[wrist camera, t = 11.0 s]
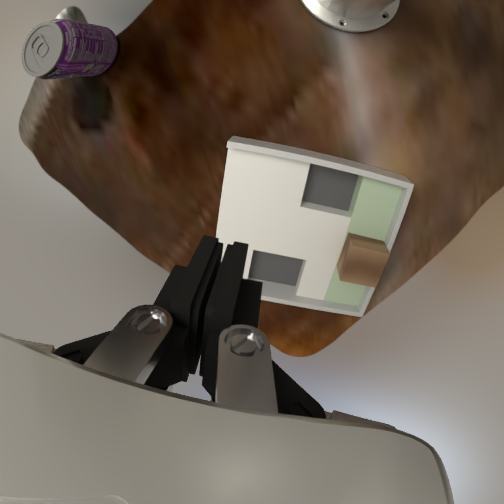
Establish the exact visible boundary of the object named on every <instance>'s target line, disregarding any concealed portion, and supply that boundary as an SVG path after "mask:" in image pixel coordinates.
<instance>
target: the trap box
mask: <svg viewBox="0 0 504 504" xmlns="http://www.w3.org/2000/svg"><path fill="white" fill-rule="evenodd" d="M227 147H228V154H227V160H226V167H225V174H224V181H223V188H222V195H221V202H220V210H219V217H218V225H217V232H216V238H219V242H221V243H223V252H222V259H223V256H224V253H225V250H226V247H227V245H228V244H231V245H233V243H234V241H236V242H241V243H247V244H249V246H248V252H247V257H246V263H245V268H244V274H243V278H244V279H249V280H255V281H260V282H263V286H262V294H261V300H265V301H271V302H276V303H282V304H287V305H293V306H298V307H304V308H310V309H316V310H321V311H327V312H333V313H340V314H346V315H352V316H358V317H362V316H363V314H364V312H365V310H366V308H367V305H368V303H369V301H370V299H371V296H372V294H373V292H374V290H375V288H374V287H369V286H364V285H359V284H354V283H349V282H344V281H340V279H339V275H338V270H337V266H336V265H337V263H338V260H339V257H340V254H341V252H342V249H343V246H344V243H345V240H346V237H347V235H348V232H349V233H353V234H357V235H361V236H365V237H369V238H373V239H377V240H381V241H384V243H385V245H386V247H387V248H388V250H389V252H390V251H391V249H392V246H393V243H394V241H395V238H396V236H397V233H398V230H399V228H400V225H401V222H402V219H403V216H404V214H405V211H406V208H407V205H408V202H409V199H410V196H411V193H412V190H413V187H414V184H413V183H412V182H411V181H409V180H408V179H407V178H406V177H405V176H404V175H401V174H397V173H394V172H391V171H387V170H384V169H380V168H377V167H373V166H370V165H366V164H362V163H359V162H355V161H351V160H347V159H343V158H339V157H335V156H331V155H327V154H322V153H318V152H314V151H309V150H305V149H300V148H296V147H291V146H286V145H281V144H276V143H271V142H265V141H260V140H254V139H249V138H243V137H237V136H232V137H231V138H230V139H229V140H228V141H227ZM222 259H221V262H222Z"/></svg>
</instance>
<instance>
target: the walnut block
mask: <svg viewBox="0 0 504 504" xmlns="http://www.w3.org/2000/svg"><path fill="white" fill-rule="evenodd" d="M390 255H391V254H390V252H389V250H388V248H387V247H386V245H385V243H384V241H381V240H377V239H373V238H369V237H365V236H361V235H357V234H353V233H349V232H348V235H347V237H346V240H345V243H344V246H343V249H342V252H341V254H340V257H339V260H338V263H337V265H336V266H337V270H338V275H339V279H340V281H344V282H349V283H354V284H359V285H364V286H369V287H374V288H376V287H377V284H378V282H379V280H380V278H381V275H382V273H383V271H384V269H385V266H386V264H387V262H388V259H389V257H390Z"/></svg>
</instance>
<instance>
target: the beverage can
mask: <svg viewBox="0 0 504 504" xmlns="http://www.w3.org/2000/svg"><path fill="white" fill-rule="evenodd" d="M117 49H118V43H117V38H116V36H115V34H114V33H113V31H111V30H110V29H109V28H106V27H102V26H98V25H93V24H88V23H82V22H77V21H71V20H64V19H56V20H52V21H50V22H44V23H41V24H39V25H37V26H36V27H35V28H34V29H33V30H32V31H31V32H30V33H29V35H28V37H27V38H26V41H25V43H24V45H23V50H22V64H23V67H24V69H25V71H26V72H27V73H28V74H29V75H32V76H37V77H39V78H41V79H57V78H69V77H85V76H96V75H99V74H101V73H103V72H104V71H106V70H107V69H108V68H109V67H110V66H111V64H112V63H113V61H114V59H115V57H116V54H117Z"/></svg>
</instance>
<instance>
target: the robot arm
mask: <svg viewBox="0 0 504 504" xmlns="http://www.w3.org/2000/svg"><path fill="white" fill-rule="evenodd" d="M300 1H301V3H302V5H303V6H304V7H305V8H306V10H307V11H308V12H309V13H310V14H311V15H313V16H314V17H315V18H316V19H318V20H319V21H321V22H322V23H324V24H326V25H328V26H330V27H332V28H335V29H339V30H342V31H348V32H366V31H372V30H374V29H377V28H379V27H381V26H383V25H385V24H386V23H388V22H389V21H390V20H391V19H392V18H393V17H394V15H395V14H396V12H397V10H398V8H399V5H400V0H300ZM382 15H384V16H385V18H383V16H382ZM340 23H343V24H344V25H343V26H341V25H340ZM248 246H249V244H247V243H241V242H236V241H234V243H233V245H231V244H228V245H227V247H226V250H225V253H224V256H223V259H222V252H223V243H221V242H219V238H215V237H210V236H205V235H204V236H203V238H202V239H201V241H200V243H199V245H198V247H197V249H196V251H195V253H194V255H193V257H192V259H191V261H190V263H189V265H188V267H184V266H179V265H175V266H174V268H173V270H172V271H171V273H170V275H169V277H168V279H167V280H166V282H165V284H164V286H163V288H162V290H161V291H160V293H159V295H158V297H157V299H156V301H155V302H154V304H153V305H140V306H137V307H135V308H132V309H131V310H130V311H129V312H127V314H126V315H125V316H124V317H123V318H122V319H121V320H120V321H119V323H118V324H117V325H116V326H115V327H114V329H113V330H111V331H108V332H105V333H102V334H98V335H95V336H92V337H89V338H85V339H82V340H79V341H75V342H72V343H69V344H65V345H63V346H61V347H59V348H58V349H55V348H54V346H53V345H48V344H42V343H36V342H31V341H25V340H20V339H14V338H12V337H9V336H7V335H4V334H2V333H0V504H454V501H453V495H452V491H451V487H450V483H449V479H448V476H447V473H446V470H445V467H444V465H443V462H442V460H441V458H440V457H439V455H438V453H437V452H436V451H435V449H434V448H433V447H432V446H431V445H429V444H428V443H427V442H425V441H424V440H422V439H420V438H418V437H416V436H414V435H411V434H408V433H406V432H403V431H400V430H397V429H396V428H395V427H393V426H391V425H388V424H385V423H380V422H376V421H372V420H368V419H364V418H360V417H356V416H353V415H349V414H346V413H342V412H338V411H333V412H332V413H329V412H326V411H324V409H323V408H322V407H321V406H320V404H319V403H318V402H317V401H316V400H315V399H314V398H312V397H311V396H310V395H309V394H308V393H307V392H306V391H305V390H304V389H303V388H301V387H300V386H299V385H298V384H297V383H296V382H295V381H294V380H293V379H292V378H291V377H290V376H289V375H287V374H286V373H285V372H284V371H283V370H282V369H281V368H280V367H279V366H278V365H277V364H276V363H275V362H274V361H273V360H272V359H271V351H270V343H269V340H268V338H267V337H266V335H265V334H264V333H263V332H262V331H260V330H259V329H257V326H258V318H259V310H260V302H261V294H262V286H263V282H260V281H255V280H249V279H244V278H243V274H244V268H245V263H246V257H247V252H248ZM221 259H222V262H221ZM200 355H201V360H200V372H199V375H200V376H203V380H202V386H203V387H204V388H205V389H206V391H207V392H208V393H209V394H210V395H211V401H207V400H202V399H198V398H193V397H189V396H185V395H181V394H177V393H173V392H171V391H172V389H173V384H176V383H178V382H180V381H184V382H187V379H188V376H189V373H190V374H195V372H196V369H197V365H198V362H199V359H200Z"/></svg>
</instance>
